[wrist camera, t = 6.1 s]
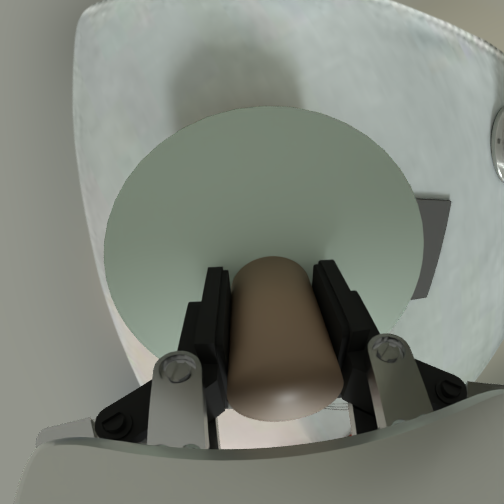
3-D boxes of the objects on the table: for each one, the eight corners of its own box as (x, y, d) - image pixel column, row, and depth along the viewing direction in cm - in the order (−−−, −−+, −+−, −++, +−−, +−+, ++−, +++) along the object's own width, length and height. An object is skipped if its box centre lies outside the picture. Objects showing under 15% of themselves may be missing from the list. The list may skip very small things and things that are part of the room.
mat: (449, 200, 29) (451, 201, 29) (425, 295, 36) (426, 297, 36) (348, 197, 29) (349, 198, 29) (335, 307, 36) (336, 309, 36)
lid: (431, 120, 9) (541, 148, 4) (380, 363, 15) (411, 438, 10) (82, 134, 9) (-28, 170, 4) (155, 379, 15) (137, 462, 10)
